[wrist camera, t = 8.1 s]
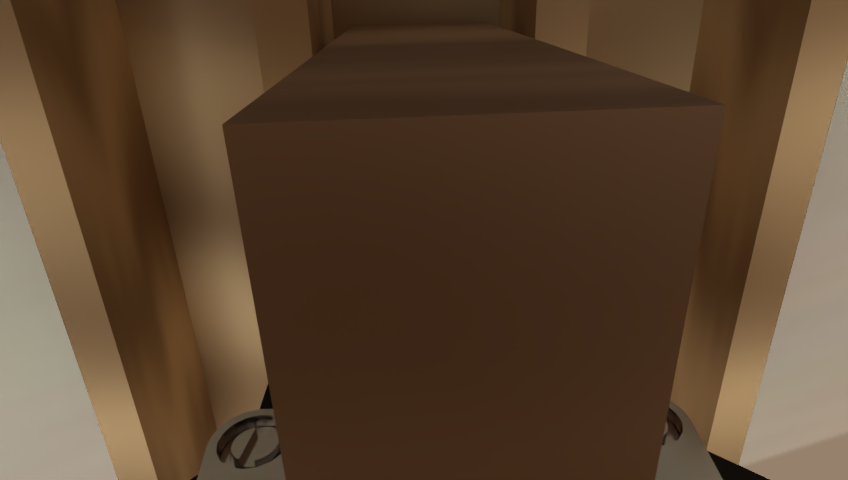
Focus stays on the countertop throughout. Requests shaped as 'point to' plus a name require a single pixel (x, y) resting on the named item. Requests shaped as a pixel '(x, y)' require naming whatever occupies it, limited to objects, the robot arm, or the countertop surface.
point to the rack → (216, 206)
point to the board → (470, 255)
